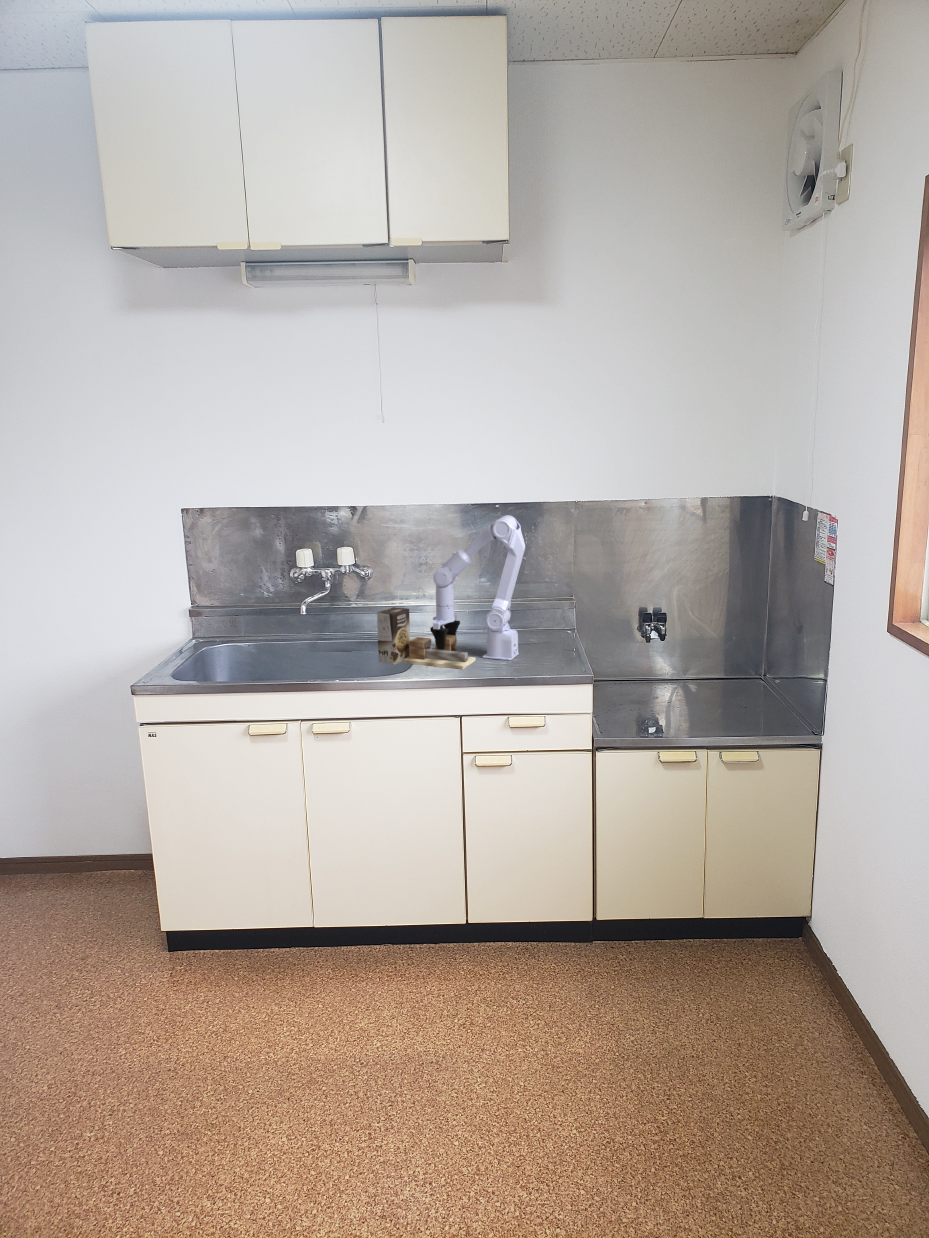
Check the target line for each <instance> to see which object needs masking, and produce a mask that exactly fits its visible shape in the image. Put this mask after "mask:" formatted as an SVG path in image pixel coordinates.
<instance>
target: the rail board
mask: <svg viewBox="0 0 929 1238" xmlns="http://www.w3.org/2000/svg"><path fill="white" fill-rule="evenodd" d="M409 653H410V656H409V657H408V658H406V659H404V660H403V661H402V662H403V664H408V665H409V664H410V665H416V666H417V665H418V666H419V665H420V666H427V667H429V666H430V667H436V668H437V667H439V668H448V669H456V670H457V669H458V670H464V669H465V668H467V667H468V666H470V665H471V664H473V663H475V661H476V657H475V656H474V657H473V656H469V655H468V652H466V651H447V650H436V648H432V638H431V637H421V636H416V637H414V638H413V639H410V641H409Z"/></svg>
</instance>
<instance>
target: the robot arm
mask: <svg viewBox="0 0 929 1238" xmlns="http://www.w3.org/2000/svg"><path fill="white" fill-rule="evenodd" d="M521 527H522V526H521V523H519V522H518V520H517V519H516V517H514V516H512V515H509V514H507V515H502V517H500V518H497V519H496V520H495V521H494V522H493V523H491V524H489V525H488V526H487V527H486V528H484V529H483V530H482V531H481V532H480V533H479V534H478V535H477V536H476V537H475V538H474V539H473V541H471V543H470V544H468V545H467V547H465V549H457V551H456V550H454V551H453V552H452V553H451V557H450V558H449V559H447V560H446V561H445V562H444V561H443V562H442V563H441V567H440V568H438V569H436V570H435V572H434V573H433V578H432V579H433V582H434V584H435V615H436V616H434V617H433V618H432V620H433V621H434V622H433V623H432V626H430V628H429V630H430V632H431V634H432V636H433V638H434V642H435V641H436V645H437V648H438V649H442V650H443V649H444V648H445V640H446V635H456V636H457V632H458V629H459V626H460V625H461V621H460V620H458V613H456V612H455V590H454V582H455V580H456V578H457V577H459V576H460V574H462V573H463V572H464V571H465V570H466V569H467V568H468V567H469V566H470V565H471V564H472V558H473V556H474V555H475V554H477V552H478V551H480V550H481V549H482V548H483V547H484V546H485V545H486V544H488V543H489V542H491V541H495V540H496V539H497V540H498V541H500V542H502V544H503V546H505V548H506V549H507V554H506V558H505V562H504V566H503V569H502V573H501V577H500V579H499V583H498V587H497V591H496V594H495V598H494V600H493V603H492V604H491V608H490V610H489V612H488V613H486V616H485V618H484V621H485V624H486V653H485V654H483V655H482V658H483V659H493V660H503V661H512V660H513V659H515V658H516V657H517V656H518V655H519V654H520V652H519V634H518V631H517V630H516V629H512V628H511V626H510V624H509V623H508V622H509V621H510V620H511V617H512V612H511V605H512V598H513V594H514V590H515V586H516V583H517V578H518V576H519V571H520V568H521V565H522V562H523V558H524V554H525V550H526V543H525V540H524V536H523V534H522V530H521V529H522V528H521Z"/></svg>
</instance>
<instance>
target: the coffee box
mask: <svg viewBox="0 0 929 1238" xmlns="http://www.w3.org/2000/svg"><path fill="white" fill-rule="evenodd" d="M376 617H377V618H376V623H377V625H376V627H377V650H378V651H377V657H378V663H380V664H381V663H382V664H386V665H387V664H388V665H392V666H394V665H397V664H399V663H402V662H404V661H403V660H404V659H406V658H408V657H409V656H410V653H409V641H410V640H411V626H410V625H411V623H410V608H404V607H396V606H394V607H390V608H386V609H384V610H381V611H377V612H376Z"/></svg>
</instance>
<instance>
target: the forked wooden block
mask: <svg viewBox="0 0 929 1238" xmlns="http://www.w3.org/2000/svg"><path fill="white" fill-rule="evenodd" d="M434 642H435V643H434V644H435V645H434V646H435V648H434V649H436V650H442V649H438V648H437V645H436V641H435V640H434ZM457 642H458V641H457V634H456V635H446V640H445V648H444V649H443V650H447V651H457V649H458V647H457ZM457 652H458V651H457Z"/></svg>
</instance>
